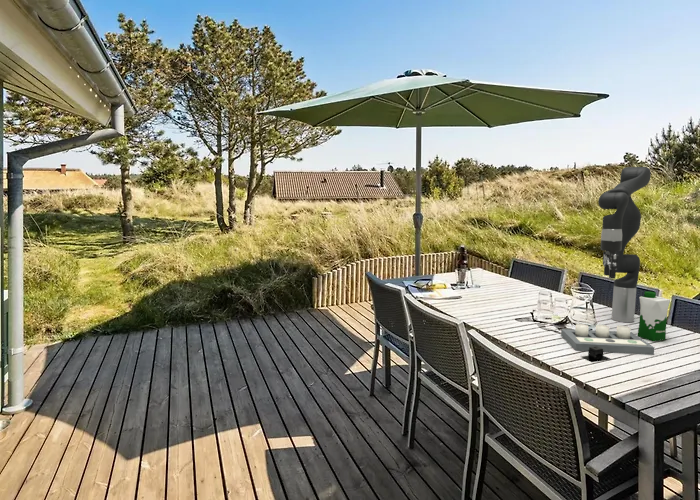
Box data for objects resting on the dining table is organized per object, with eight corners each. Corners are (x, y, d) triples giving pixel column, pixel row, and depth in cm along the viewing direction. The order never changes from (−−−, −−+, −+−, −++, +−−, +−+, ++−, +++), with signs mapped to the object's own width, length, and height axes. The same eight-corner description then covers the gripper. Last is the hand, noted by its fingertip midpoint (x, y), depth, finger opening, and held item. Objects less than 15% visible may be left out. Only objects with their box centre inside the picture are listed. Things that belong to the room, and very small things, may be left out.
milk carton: (648, 333, 176) (652, 290, 173) (669, 340, 167) (673, 295, 164) (633, 335, 173) (637, 291, 171) (654, 342, 165) (658, 296, 162)
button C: (573, 334, 171) (573, 323, 170) (585, 335, 170) (586, 324, 169) (577, 338, 166) (578, 327, 165) (589, 339, 165) (590, 327, 164)
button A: (613, 336, 167) (614, 325, 167) (626, 337, 166) (627, 325, 166) (619, 340, 163) (620, 328, 162) (632, 341, 162) (633, 329, 161)
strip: (575, 338, 164) (575, 336, 163) (639, 341, 159) (640, 339, 159) (580, 342, 159) (580, 341, 159) (646, 345, 154) (646, 344, 154)
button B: (593, 335, 169) (594, 324, 168) (605, 336, 168) (606, 324, 167) (598, 339, 164) (598, 328, 164) (610, 340, 163) (611, 328, 163)
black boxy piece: (600, 354, 156) (601, 343, 155) (617, 361, 149) (617, 349, 148) (574, 357, 152) (575, 346, 152) (590, 365, 145) (591, 353, 145)
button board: (561, 335, 175) (561, 328, 175) (630, 338, 170) (631, 331, 170) (575, 350, 158) (576, 343, 158) (653, 354, 152) (654, 347, 152)
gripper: (597, 238, 175) (595, 273, 177) (605, 240, 162) (603, 279, 163) (617, 238, 172) (615, 274, 174) (626, 240, 159) (624, 280, 161)
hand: (609, 276), depth 169 cm, fingers open, 8 cm apart
